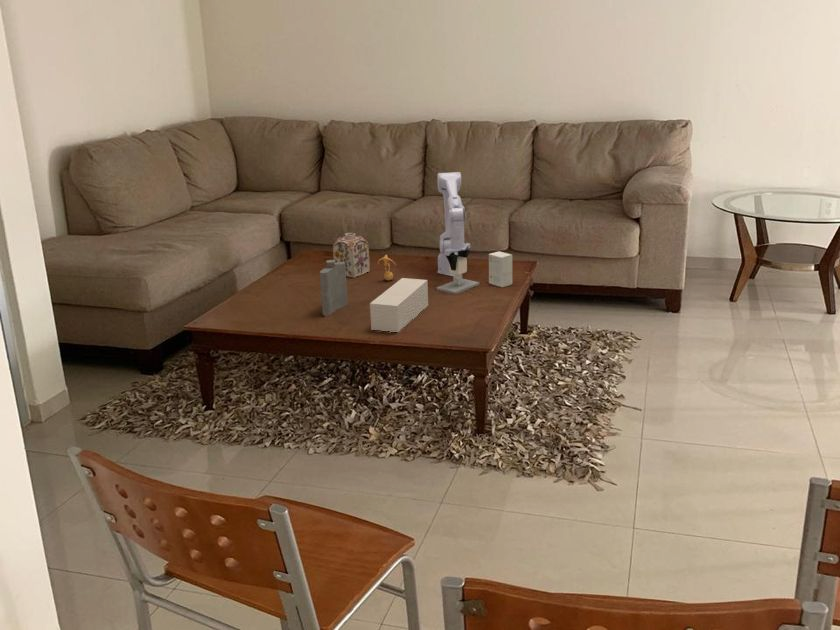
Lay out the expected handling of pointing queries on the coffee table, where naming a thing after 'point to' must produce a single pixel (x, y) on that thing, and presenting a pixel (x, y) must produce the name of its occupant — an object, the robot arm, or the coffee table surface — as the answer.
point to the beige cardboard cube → (459, 266)
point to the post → (458, 280)
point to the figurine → (388, 274)
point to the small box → (500, 269)
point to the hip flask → (333, 286)
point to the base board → (457, 289)
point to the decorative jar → (352, 254)
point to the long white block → (399, 305)
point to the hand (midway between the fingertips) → (457, 268)
